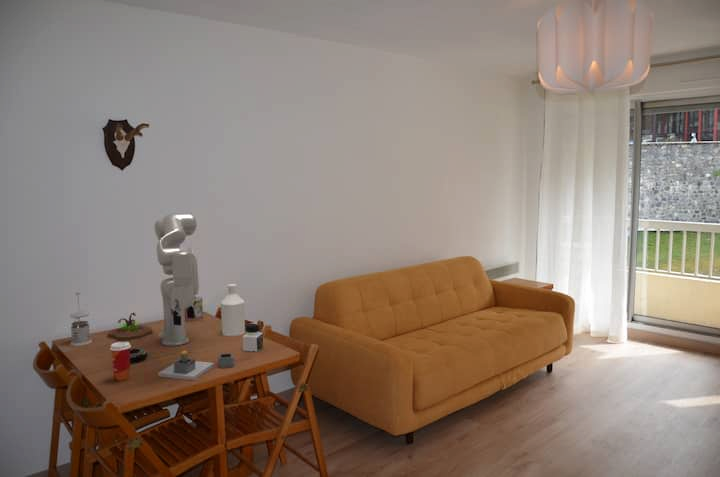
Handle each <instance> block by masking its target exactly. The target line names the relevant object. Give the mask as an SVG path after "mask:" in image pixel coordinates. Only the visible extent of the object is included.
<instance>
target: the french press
mask: <svg viewBox="0 0 720 477" xmlns="http://www.w3.org/2000/svg"><path fill="white" fill-rule="evenodd" d="M75 295H76V296H79V295H81V292H79V291H76V292H75ZM77 304H78V307H80V299H79V297H77ZM88 316H89V312H86V311H83V310H78V311H74V312H73V313H72V314H70V315H69V317H70V318H73V319H74V321H73V322H72V323H71V326H70V329H71V331H70V332H71V334H70V335H71V342H70V343H69V345H70V346H77V347H78V346H85V345H88V344H92V343H93V339H91V337H90V324H88V323H89V322H88V320H87V321H86V320H81V318H85V317H88ZM75 320H77V321H75Z"/></svg>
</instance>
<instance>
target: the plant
mask: <svg viewBox="0 0 720 477" xmlns="http://www.w3.org/2000/svg"><path fill="white" fill-rule="evenodd" d="M132 316H134V317H136V316H137V313H136V312H131V313H130V315H129V317H128V318H129V319H127V318H124V317H123V318H119V320H118V321H117V323H118V324H119V325H120V327H118V328H115V329H112V330H110V331H107V334H106V335H107V338H108V339H113V340H117V341H118V342H129V341H133V340H140V339H143V338H145V337H149V336H150V335H153V328H152V327H151V326H148V325H142V324H141V323H142V322H141V321H140V322H137V323H136V320H135V319H132ZM122 320H123V321H125V322H124V324H123V323H122V322H121V321H122Z"/></svg>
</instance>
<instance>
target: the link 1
mask: <svg viewBox="0 0 720 477" xmlns="http://www.w3.org/2000/svg"><path fill="white" fill-rule="evenodd" d="M187 360H188V362H187V363H181V358H180V359H178V360H176V361H174V362H173V364H174V373H183V374H188V373H189V372H191V371H193V370H194V369H195V361H196V359H195V358H187Z"/></svg>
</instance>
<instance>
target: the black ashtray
mask: <svg viewBox="0 0 720 477" xmlns="http://www.w3.org/2000/svg"><path fill="white" fill-rule="evenodd" d="M147 356H148V351H147V350H146V349H145V348H142V347H134V348H133V347H132V348H131V347H130V364H134V363H135V364H136V363H139V362H143V361H144V360H146V358H147Z"/></svg>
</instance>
